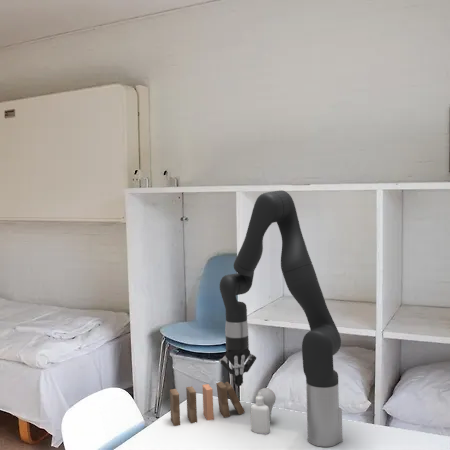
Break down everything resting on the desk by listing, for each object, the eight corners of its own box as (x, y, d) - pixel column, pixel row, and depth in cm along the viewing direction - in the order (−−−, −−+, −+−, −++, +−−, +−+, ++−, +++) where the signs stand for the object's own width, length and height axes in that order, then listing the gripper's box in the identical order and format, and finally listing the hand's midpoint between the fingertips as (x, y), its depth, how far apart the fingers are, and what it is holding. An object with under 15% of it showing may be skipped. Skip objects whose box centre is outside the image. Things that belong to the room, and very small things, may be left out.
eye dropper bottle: (260, 426, 166) (259, 388, 166) (272, 432, 162) (270, 393, 161) (249, 430, 164) (248, 391, 163) (260, 436, 159) (259, 397, 159)
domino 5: (240, 406, 180) (227, 381, 179) (245, 411, 176) (232, 386, 174) (235, 409, 180) (222, 384, 178) (239, 415, 175) (226, 389, 173)
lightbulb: (263, 416, 173) (262, 383, 172) (279, 421, 170) (278, 387, 169) (253, 423, 168) (252, 389, 167) (269, 428, 165) (268, 393, 164)
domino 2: (193, 416, 176) (192, 386, 175) (197, 422, 171) (196, 391, 170) (187, 417, 175) (186, 387, 174) (191, 423, 170) (189, 392, 170)
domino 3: (209, 413, 177) (208, 384, 177) (213, 419, 172) (212, 389, 172) (203, 414, 177) (202, 384, 176) (207, 420, 172) (206, 390, 171)
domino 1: (176, 418, 174) (175, 388, 173) (180, 425, 169) (179, 394, 169) (170, 419, 173) (169, 389, 173) (174, 426, 169) (172, 395, 168)
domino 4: (225, 410, 179) (221, 381, 178) (229, 416, 174) (226, 386, 173) (219, 411, 178) (216, 382, 177) (223, 417, 174) (220, 388, 173)
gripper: (221, 339, 171) (222, 392, 172) (259, 334, 174) (261, 386, 176) (214, 333, 178) (216, 384, 179) (251, 329, 182) (253, 378, 183)
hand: (238, 385), depth 177 cm, fingers closed
